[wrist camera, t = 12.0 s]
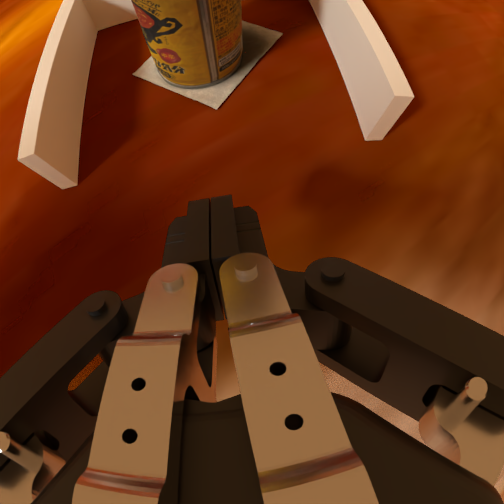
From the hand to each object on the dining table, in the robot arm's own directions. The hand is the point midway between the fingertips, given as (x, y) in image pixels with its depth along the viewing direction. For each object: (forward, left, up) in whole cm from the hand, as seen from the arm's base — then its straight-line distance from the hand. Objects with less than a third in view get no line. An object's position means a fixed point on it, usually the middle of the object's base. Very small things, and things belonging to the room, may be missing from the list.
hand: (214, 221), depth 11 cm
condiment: (0, +14, -6) cm, 15 cm away
